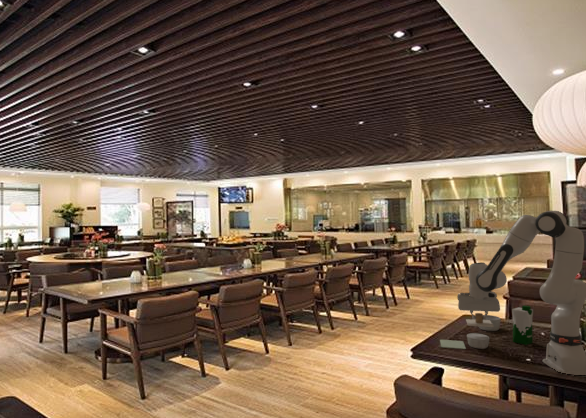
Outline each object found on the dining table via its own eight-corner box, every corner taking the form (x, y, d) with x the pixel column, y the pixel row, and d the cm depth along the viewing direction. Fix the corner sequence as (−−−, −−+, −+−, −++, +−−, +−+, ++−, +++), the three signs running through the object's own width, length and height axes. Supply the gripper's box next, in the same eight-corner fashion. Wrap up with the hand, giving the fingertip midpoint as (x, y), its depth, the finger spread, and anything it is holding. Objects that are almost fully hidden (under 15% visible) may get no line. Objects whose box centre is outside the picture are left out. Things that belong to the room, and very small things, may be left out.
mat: (465, 349, 217) (465, 348, 217) (441, 347, 221) (441, 346, 221) (463, 341, 230) (463, 341, 230) (439, 340, 233) (439, 339, 233)
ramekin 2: (486, 351, 215) (485, 340, 215) (463, 346, 222) (463, 336, 222) (492, 345, 223) (492, 335, 224) (470, 341, 231) (470, 332, 231)
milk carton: (527, 346, 222) (526, 308, 223) (510, 341, 230) (509, 305, 230) (535, 343, 227) (534, 306, 228) (518, 339, 235) (517, 303, 235)
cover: (493, 327, 215) (493, 316, 215) (468, 325, 219) (467, 315, 219) (489, 321, 226) (489, 311, 227) (465, 320, 230) (465, 310, 230)
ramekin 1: (472, 327, 259) (471, 316, 259) (486, 324, 265) (486, 313, 265) (491, 332, 247) (490, 321, 247) (505, 329, 253) (505, 318, 253)
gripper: (457, 293, 223) (458, 319, 222) (500, 294, 217) (501, 321, 217) (456, 291, 229) (457, 317, 228) (497, 292, 223) (498, 318, 223)
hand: (479, 319), depth 222 cm, fingers closed on cover, 4 cm apart
